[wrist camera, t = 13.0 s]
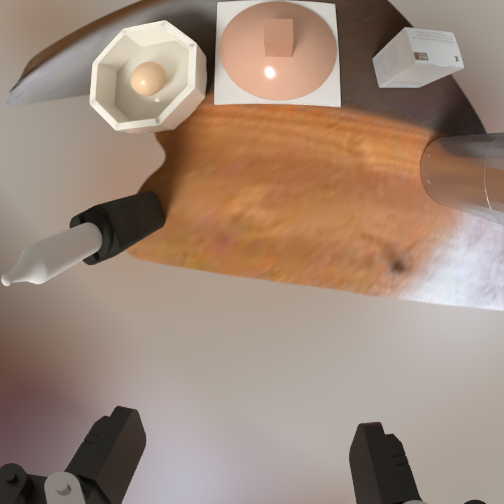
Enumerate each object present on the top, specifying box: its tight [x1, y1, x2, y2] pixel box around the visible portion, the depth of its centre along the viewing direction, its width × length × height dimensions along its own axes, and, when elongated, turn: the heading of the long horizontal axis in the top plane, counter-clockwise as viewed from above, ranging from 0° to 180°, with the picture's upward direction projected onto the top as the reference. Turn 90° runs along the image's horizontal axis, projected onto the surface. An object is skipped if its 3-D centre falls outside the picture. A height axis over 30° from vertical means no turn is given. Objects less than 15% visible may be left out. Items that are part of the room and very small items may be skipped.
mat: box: [214, 0, 341, 107], centre depth 32 cm, size 15×15×1 cm
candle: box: [1, 191, 165, 286], centre depth 27 cm, size 5×5×25 cm
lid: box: [219, 1, 337, 101], centre depth 29 cm, size 14×14×6 cm
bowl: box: [90, 20, 208, 134], centre depth 31 cm, size 13×13×6 cm
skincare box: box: [372, 27, 464, 88], centre depth 25 cm, size 6×4×12 cm
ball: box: [130, 61, 167, 96], centre depth 31 cm, size 4×4×4 cm
